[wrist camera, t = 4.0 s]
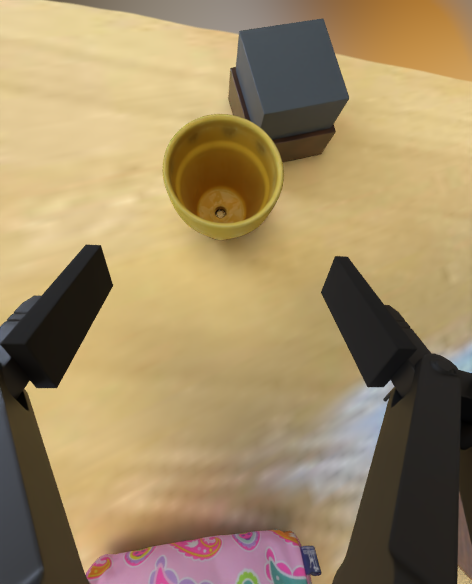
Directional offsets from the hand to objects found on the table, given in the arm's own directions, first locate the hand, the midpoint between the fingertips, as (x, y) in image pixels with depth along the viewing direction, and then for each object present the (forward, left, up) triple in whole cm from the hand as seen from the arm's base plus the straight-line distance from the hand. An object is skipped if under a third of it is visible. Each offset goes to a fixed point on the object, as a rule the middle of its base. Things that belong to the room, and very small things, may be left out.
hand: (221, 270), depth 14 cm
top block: (-13, -19, -11) cm, 26 cm away
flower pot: (-3, -9, -15) cm, 18 cm away
